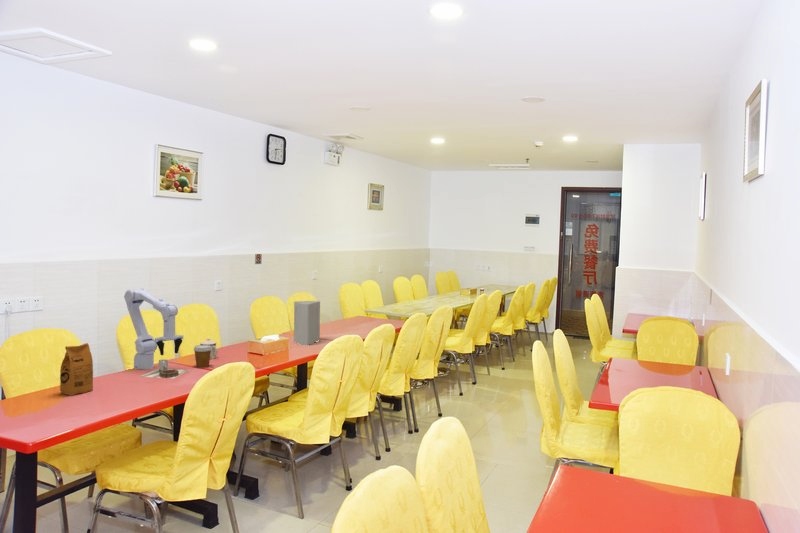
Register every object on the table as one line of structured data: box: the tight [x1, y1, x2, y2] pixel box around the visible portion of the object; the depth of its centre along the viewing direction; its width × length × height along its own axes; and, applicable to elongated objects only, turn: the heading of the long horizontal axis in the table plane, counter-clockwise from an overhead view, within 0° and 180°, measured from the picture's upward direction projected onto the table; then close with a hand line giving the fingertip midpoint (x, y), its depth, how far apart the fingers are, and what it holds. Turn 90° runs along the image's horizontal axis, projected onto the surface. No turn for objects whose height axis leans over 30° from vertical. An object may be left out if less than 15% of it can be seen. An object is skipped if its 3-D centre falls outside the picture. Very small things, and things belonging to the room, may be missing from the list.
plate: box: [139, 368, 191, 379], centre depth 300 cm, size 18×18×1 cm
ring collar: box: [159, 369, 179, 379], centre depth 296 cm, size 9×9×2 cm
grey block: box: [293, 300, 321, 346], centre depth 395 cm, size 19×15×28 cm
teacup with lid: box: [199, 337, 219, 360], centre depth 342 cm, size 12×9×12 cm
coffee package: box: [59, 342, 94, 396], centre depth 266 cm, size 10×12×22 cm
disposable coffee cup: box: [193, 344, 212, 368], centre depth 318 cm, size 10×10×12 cm
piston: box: [158, 358, 169, 372], centre depth 304 cm, size 4×4×6 cm
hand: (169, 354), depth 304 cm, fingers open, 7 cm apart
